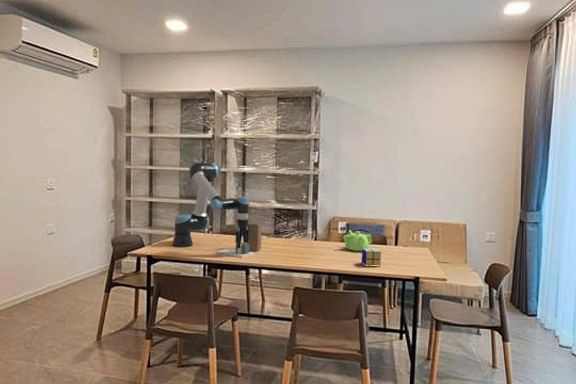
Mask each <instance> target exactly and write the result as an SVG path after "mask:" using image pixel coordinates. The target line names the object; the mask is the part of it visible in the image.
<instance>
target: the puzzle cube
mask: <svg viewBox="0 0 576 384" xmlns="http://www.w3.org/2000/svg"><path fill="white" fill-rule="evenodd" d="M381 257H382V252H381V251H380V250H379V249H378V248H368V249H362V251H361V264H362V263H364V264H365V265H380V266H381V259H382V258H381ZM365 265H364V266H365Z"/></svg>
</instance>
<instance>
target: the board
mask: <svg viewBox="0 0 576 384" xmlns="http://www.w3.org/2000/svg"><path fill="white" fill-rule="evenodd" d="M216 254H219V255H224V256H229V257H234V256H235V257H236V258H246V257H250V256H254V254H255V251H249V253H246V254H243V253H236V248H231V247H230V248H228V247H227V248H224V249H221V250H217V251H216ZM235 257H234V258H235Z"/></svg>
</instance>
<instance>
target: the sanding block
mask: <svg viewBox="0 0 576 384" xmlns="http://www.w3.org/2000/svg"><path fill="white" fill-rule="evenodd" d="M241 244H242V248H241V253H243V254H246V253H249V252H250V251H249V244H244V243H243V242H241ZM235 249H236V253H238V244H237V243H236V244H235Z"/></svg>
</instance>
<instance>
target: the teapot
mask: <svg viewBox="0 0 576 384" xmlns="http://www.w3.org/2000/svg"><path fill="white" fill-rule="evenodd" d="M348 232H349V234H348V235H347V234H346V235H345V234H344V235H343V236H342V238H343V241H344V242H345V245H344V246H345V248H346V249H347V250H348V249H349V251H351V250H353V251H352V252H362V249H370V244H372V242H373V240H372V234H369V233H368V234H364V233H361V231H358V230H357V231H355V232H354V233H353V232H352V230H350V229H349V230H348Z"/></svg>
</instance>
